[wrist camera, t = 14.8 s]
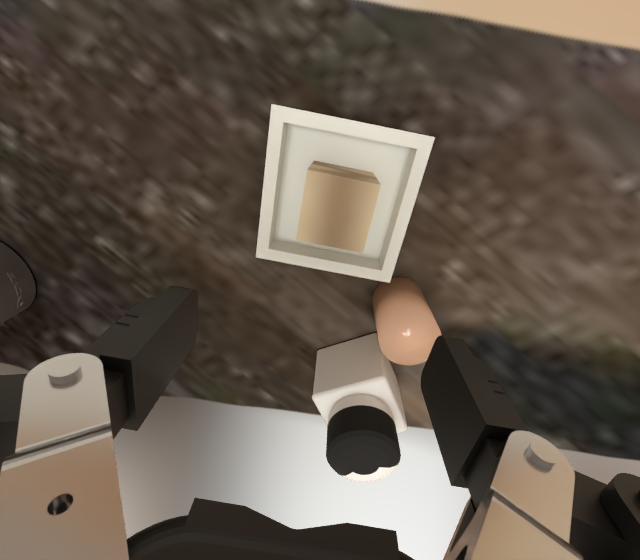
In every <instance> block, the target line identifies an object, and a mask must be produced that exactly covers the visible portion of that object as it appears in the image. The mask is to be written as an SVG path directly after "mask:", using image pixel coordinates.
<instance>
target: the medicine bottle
mask: <svg viewBox="0 0 640 560" xmlns="http://www.w3.org/2000/svg"><path fill="white" fill-rule="evenodd" d="M312 399H313V401H314V403H315V404H316V406H317V408H318V410H319V412H320V413H321V415H322V417H323V419H324V420H325V422H326V424H327V426H328V430H327V450H326V457H327V460H328V463H329V464H330V466H331V467H332V468H333V469H334V470H335V471H336V472H337V473H338V474H339V475H341V476H343V477H345V478H347V479H351V480H355V481H374V480H378V479H381V478H384V477H386V476H388V475H389V474H390V473H391V472H393V471H394V469H395V468H396V467H397V465H398V463H399V461H400V456H401V455H400V448H399V443H398V437H397V433H401V432H405V431H406V430H407V424H406V419H405V415H404V410H403V405H402V401H401V396H400V391H399V387H398V382H397V378H396V376H395V373H394V371H393V369H392V366H391V364H390V361H389V359H387V358H386V357H385V356H384V354H383V353H382V351H381V349H380V346H379V340H378V334H377V333H373V334H370V335H366V336H363V337H360V338H356V339H353V340H350V341H346V342H343V343H340V344H336V345H333V346H330V347H326V348H323V349H320V350H318V351H317V354H316V363H315V373H314V382H313V391H312Z"/></svg>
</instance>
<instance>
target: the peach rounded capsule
mask: <svg viewBox="0 0 640 560" xmlns="http://www.w3.org/2000/svg"><path fill="white" fill-rule="evenodd" d="M372 304H373V310H374V316H375V322H376V328H377V334H378V340H379V346H380V349H381V351H382V353H383V354H384V356H385V357H386V358H387V359H389V360H390V361H392V362H394V363H397V364H400V365H416V364H420V363H423V362H425V361H427V359H428V357H429V354H430V352H431V349H432V347H433V344H434V342H435V340H436V338H437V337H438V336H441V332H440V329H439V327H438V325H437V323H436V321H435V319H434V316H433V314H432V312H431V310H430V308H429V306H428V304H427V302H426V300H425V297H424V295H423V293H422V291H421V289H420V287H419V286H418V285H417V284H416V283H415V282H414V281H412V280H410V279H408V278H404V277H394V278H391V281H390V283H387V282H382V283H381V284H379V286H378V287H377V288H376V289H375V291H374V293H373V297H372Z"/></svg>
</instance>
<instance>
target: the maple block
mask: <svg viewBox="0 0 640 560" xmlns="http://www.w3.org/2000/svg"><path fill="white" fill-rule="evenodd" d="M380 186H381V184H380V183H379V181H378V179H377V178H376V176H375V175H374V173H373V172H368V171H363V170H358V169H354V168H349V167H344V166H339V165H334V164H329V163H324V162H319V161H313V163H312V164H311V165H310V167H309V168H308V169H307V175H306V181H305V187H304V193H303V199H302V206H301V212H300V218H299V224H298V230H297V236H296V240H298V241H303V242H308V243H313V244H318V245H323V246H328V247H333V248H338V249H343V250H349V251H354V252H359V253H363V251H364V247H365V243H366V239H367V236H368V232H369V228H370V224H371V220H372V217H373V213H374V209H375V205H376V201H377V197H378V194H379V190H380Z"/></svg>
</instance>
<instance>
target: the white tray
mask: <svg viewBox="0 0 640 560" xmlns="http://www.w3.org/2000/svg"><path fill="white" fill-rule="evenodd" d="M434 139H435V137H431V136H426V135H421V134H417V133H412V132H407V131H402V130H397V129H392V128H387V127H382V126H377V125H372V124H367V123H362V122H358V121H353V120H348V119H343V118H338V117H333V116H328V115H323V114H318V113H313V112H308V111H304V110H299V109H294V108H289V107H284V106H279V105H274V104H271V114H270V124H269V134H268V143H267V153H266V163H265V173H264V182H263V192H262V202H261V212H260V221H259V231H258V241H257V251H256V257H257V258H262V259H268V260H273V261H278V262H283V263H288V264H294V265H299V266H304V267H309V268H315V269H320V270H325V271H330V272H335V273H341V274H346V275H351V276H356V277H361V278H367V279H372V280H377V281H382V282H387V283H390V281H391V278H392V274H393V271H394V268H395V265H396V261H397V258H398V255H399V252H400V249H401V245H402V242H403V239H404V236H405V232H406V229H407V226H408V223H409V220H410V216H411V213H412V210H413V207H414V203H415V200H416V197H417V194H418V191H419V187H420V184H421V181H422V178H423V174H424V171H425V168H426V165H427V161H428V158H429V155H430V152H431V149H432V145H433V142H434ZM313 161H319V162H324V163H329V164H334V165H339V166H344V167H349V168H354V169H358V170H363V171H368V172H373V173H374V175H375V176H376V178H377V179H378V181H379V183H380V184H381V186H380V190H379V194H378V197H377V201H376V205H375V209H374V213H373V217H372V220H371V224H370V228H369V232H368V236H367V239H366V243H365V247H364V251H363V253H359V252H354V251H349V250H343V249H338V248H333V247H328V246H323V245H318V244H313V243H308V242H303V241H298V240H296V236H297V230H298V224H299V218H300V212H301V206H302V199H303V193H304V187H305V181H306V175H307V169H308V168H309V167H310V165H311V164H312V163H313Z"/></svg>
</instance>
